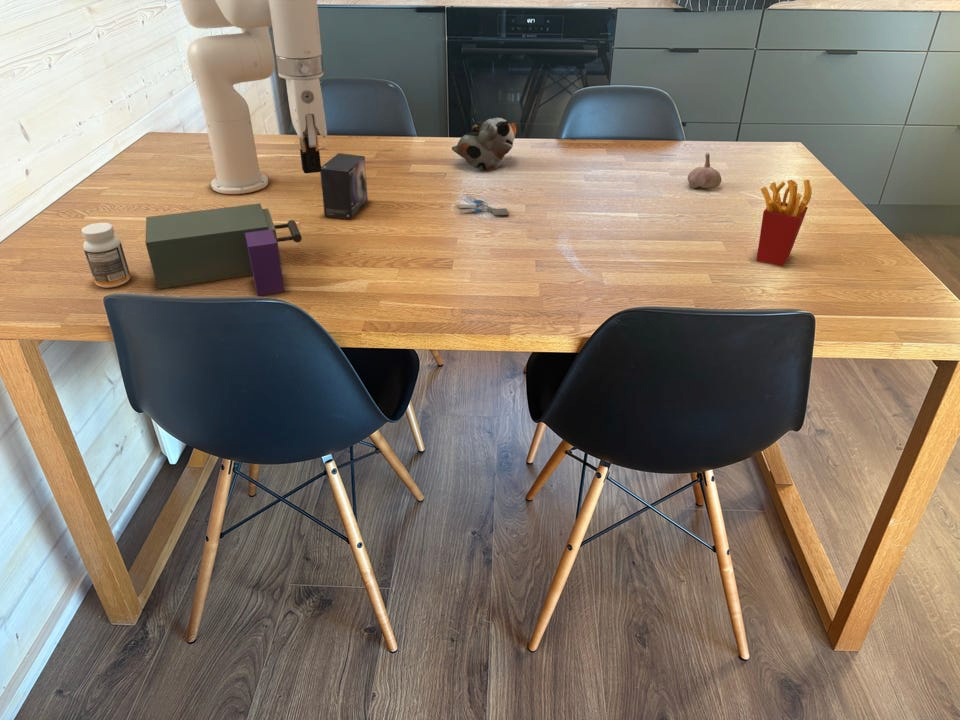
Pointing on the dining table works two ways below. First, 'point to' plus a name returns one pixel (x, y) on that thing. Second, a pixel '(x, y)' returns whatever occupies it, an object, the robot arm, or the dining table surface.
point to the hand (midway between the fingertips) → (311, 171)
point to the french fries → (781, 222)
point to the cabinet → (202, 244)
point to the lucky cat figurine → (487, 143)
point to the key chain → (495, 211)
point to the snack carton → (265, 262)
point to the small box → (344, 185)
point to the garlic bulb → (704, 176)
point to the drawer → (291, 225)
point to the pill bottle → (105, 255)
